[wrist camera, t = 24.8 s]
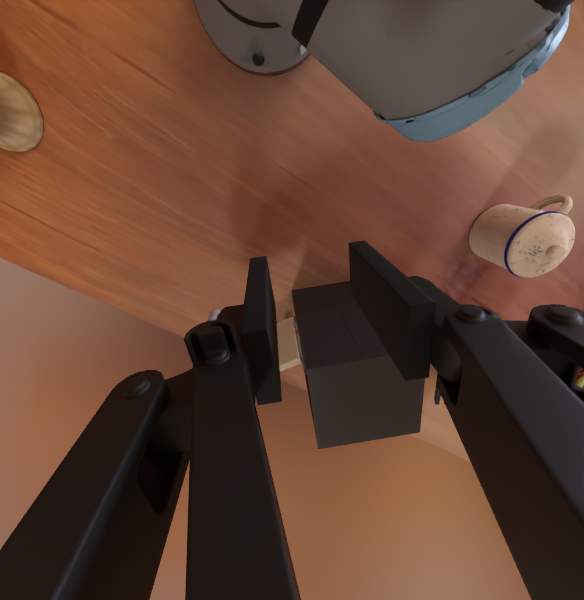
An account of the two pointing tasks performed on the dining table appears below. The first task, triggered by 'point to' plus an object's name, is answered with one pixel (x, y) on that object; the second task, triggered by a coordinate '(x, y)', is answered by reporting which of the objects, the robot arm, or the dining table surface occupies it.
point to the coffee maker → (350, 371)
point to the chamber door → (281, 342)
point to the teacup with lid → (524, 236)
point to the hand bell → (18, 117)
